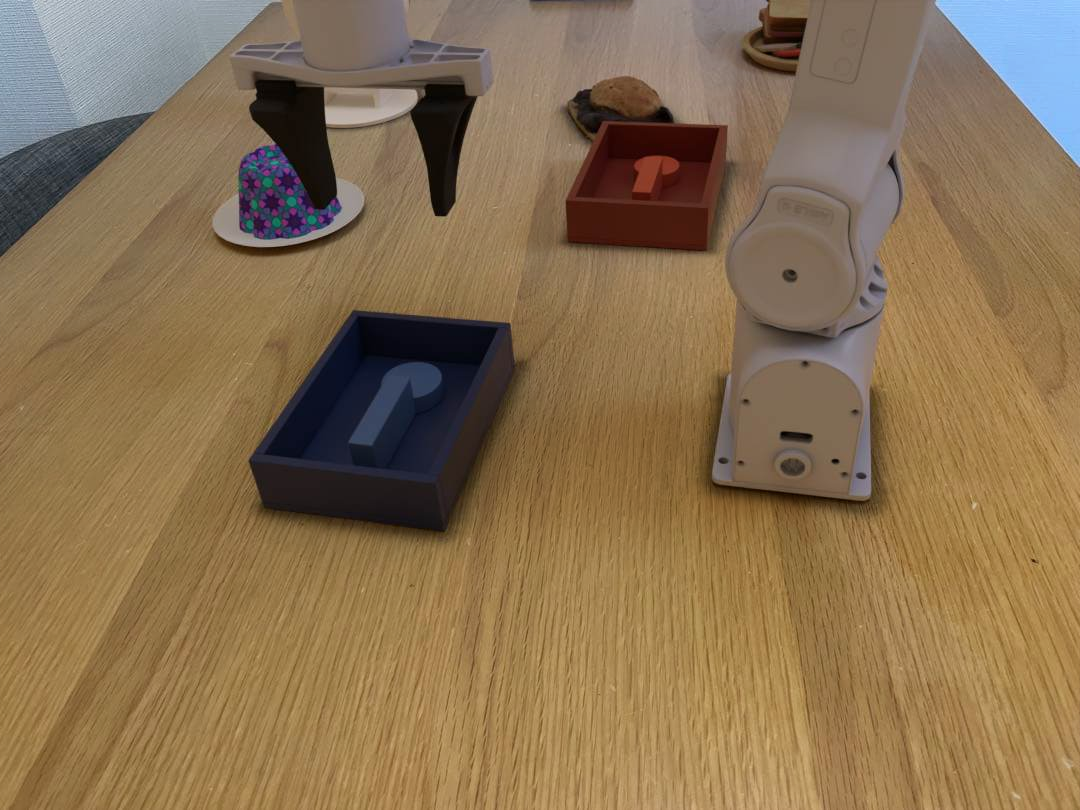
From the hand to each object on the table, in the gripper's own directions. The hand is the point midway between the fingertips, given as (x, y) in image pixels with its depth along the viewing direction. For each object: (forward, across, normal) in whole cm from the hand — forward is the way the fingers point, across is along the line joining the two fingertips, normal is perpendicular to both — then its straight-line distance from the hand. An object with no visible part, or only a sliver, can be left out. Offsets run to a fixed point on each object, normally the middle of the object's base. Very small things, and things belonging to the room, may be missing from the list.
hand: (384, 205), depth 59 cm
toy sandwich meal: (+9, -23, -54) cm, 60 cm away
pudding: (+9, +15, -14) cm, 23 cm away
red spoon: (+9, -13, -20) cm, 25 cm away
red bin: (+9, -13, -20) cm, 26 cm away
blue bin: (+9, -3, +10) cm, 14 cm away
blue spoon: (+9, -3, +10) cm, 14 cm away
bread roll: (+9, -8, -35) cm, 37 cm away
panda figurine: (+9, +18, -37) cm, 42 cm away
